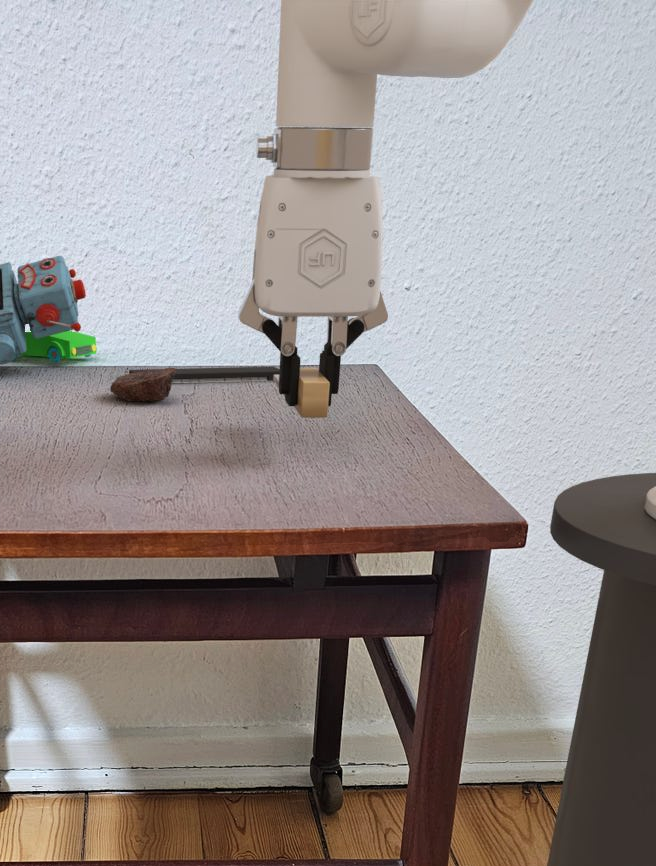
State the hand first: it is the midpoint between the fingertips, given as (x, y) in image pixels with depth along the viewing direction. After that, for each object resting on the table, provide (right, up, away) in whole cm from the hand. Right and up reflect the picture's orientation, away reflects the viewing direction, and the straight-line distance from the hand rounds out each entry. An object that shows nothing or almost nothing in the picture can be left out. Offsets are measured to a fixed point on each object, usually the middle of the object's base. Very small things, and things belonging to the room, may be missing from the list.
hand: (307, 401), depth 102 cm
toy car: (-27, +23, +47) cm, 59 cm away
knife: (0, +2, +4) cm, 5 cm away
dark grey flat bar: (-7, +15, +33) cm, 37 cm away
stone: (-15, +9, +25) cm, 30 cm away
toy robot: (-51, +20, +39) cm, 67 cm away
